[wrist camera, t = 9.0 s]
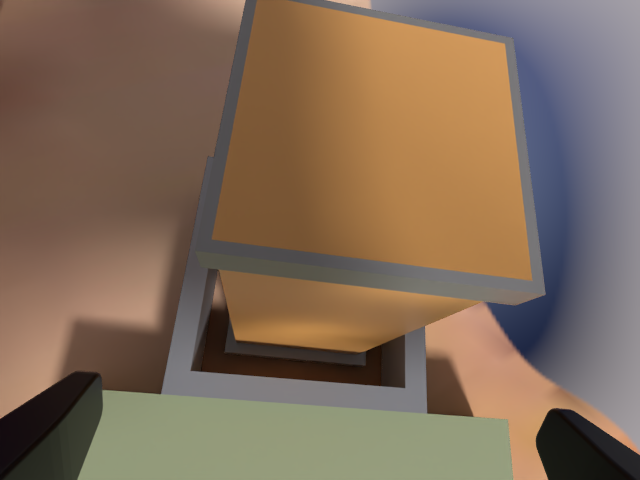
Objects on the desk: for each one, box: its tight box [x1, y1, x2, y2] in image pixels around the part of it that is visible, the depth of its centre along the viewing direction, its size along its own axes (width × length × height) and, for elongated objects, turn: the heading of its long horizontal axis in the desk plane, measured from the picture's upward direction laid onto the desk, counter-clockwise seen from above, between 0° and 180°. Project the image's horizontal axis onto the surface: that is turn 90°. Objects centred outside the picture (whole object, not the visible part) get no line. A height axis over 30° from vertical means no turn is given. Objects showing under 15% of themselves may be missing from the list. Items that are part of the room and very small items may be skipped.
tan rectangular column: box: [195, 0, 545, 367], centre depth 13 cm, size 6×6×12 cm
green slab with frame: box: [77, 156, 513, 480], centre depth 14 cm, size 22×19×4 cm
